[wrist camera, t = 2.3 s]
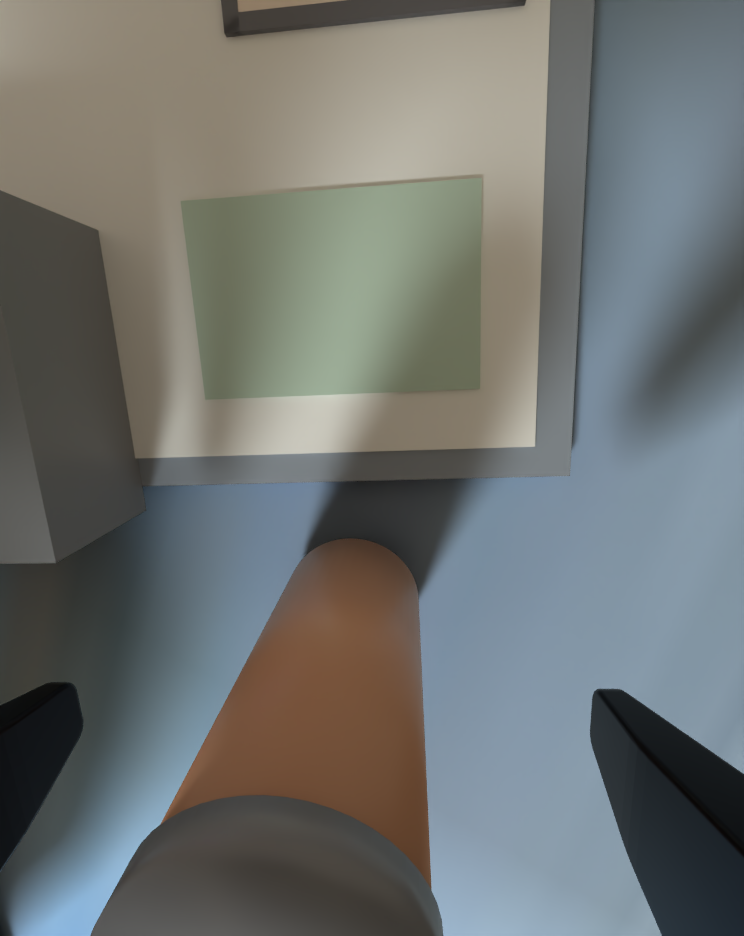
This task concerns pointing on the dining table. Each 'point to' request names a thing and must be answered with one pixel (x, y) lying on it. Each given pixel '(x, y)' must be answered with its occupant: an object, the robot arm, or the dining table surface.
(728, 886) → the robot arm
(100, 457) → the square board tray
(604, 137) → the dining table surface
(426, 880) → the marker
